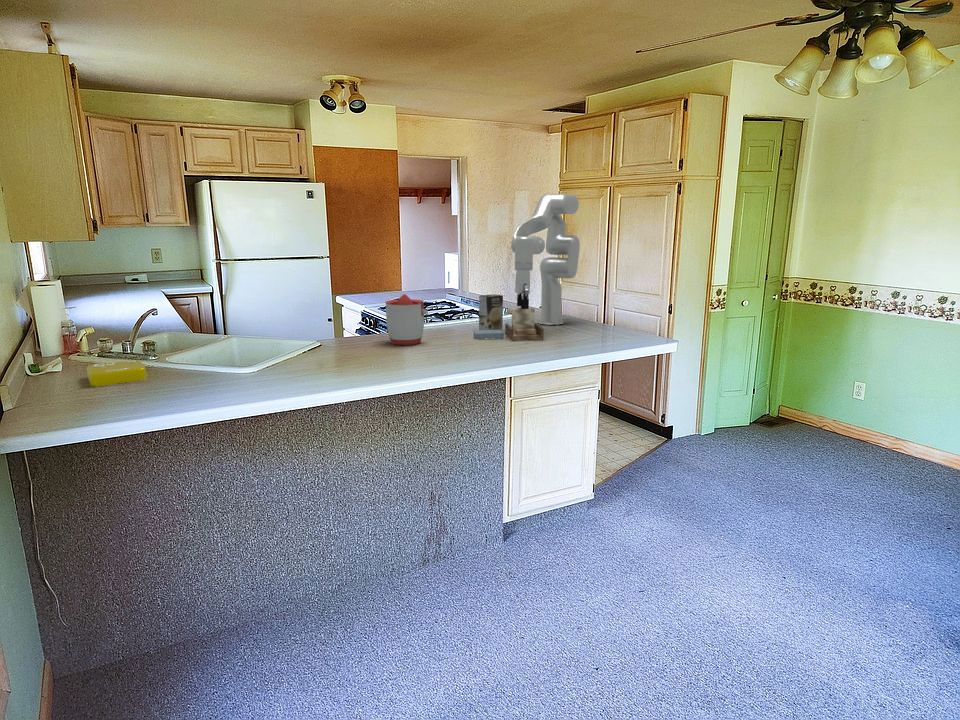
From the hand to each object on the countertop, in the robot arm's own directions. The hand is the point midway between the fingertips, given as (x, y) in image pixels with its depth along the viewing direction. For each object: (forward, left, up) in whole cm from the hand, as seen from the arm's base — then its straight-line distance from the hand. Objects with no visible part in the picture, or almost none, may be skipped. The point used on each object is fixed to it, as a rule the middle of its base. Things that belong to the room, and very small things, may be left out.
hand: (522, 307), depth 253 cm
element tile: (+139, +55, -13) cm, 151 cm away
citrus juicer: (+49, +9, -13) cm, 51 cm away
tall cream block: (0, 0, -13) cm, 13 cm away
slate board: (+15, +1, -13) cm, 19 cm away
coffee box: (+12, -15, -13) cm, 23 cm away
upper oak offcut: (-1, +5, -11) cm, 12 cm away
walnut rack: (0, +2, -13) cm, 13 cm away
